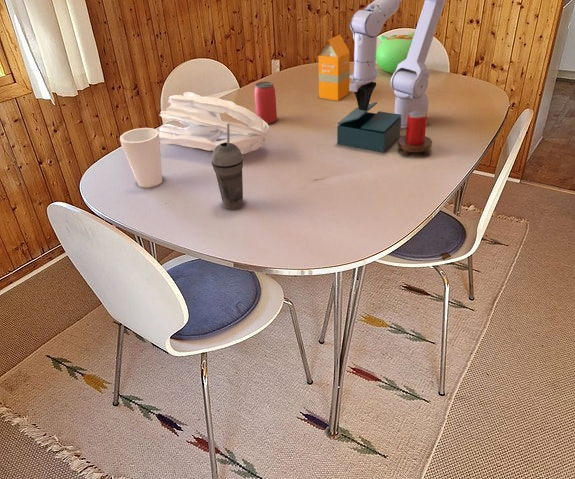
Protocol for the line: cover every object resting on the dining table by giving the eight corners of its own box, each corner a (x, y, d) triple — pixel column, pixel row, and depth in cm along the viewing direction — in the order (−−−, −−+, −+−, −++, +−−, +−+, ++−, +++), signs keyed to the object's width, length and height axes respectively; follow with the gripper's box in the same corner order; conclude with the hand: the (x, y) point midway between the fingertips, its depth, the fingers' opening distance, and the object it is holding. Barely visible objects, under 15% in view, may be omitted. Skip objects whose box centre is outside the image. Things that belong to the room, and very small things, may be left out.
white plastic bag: (284, 110, 141) (185, 94, 155) (253, 93, 124) (146, 77, 138) (271, 169, 142) (174, 148, 156) (239, 160, 126) (135, 137, 140)
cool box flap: (337, 124, 138) (337, 123, 138) (356, 109, 147) (356, 107, 147) (359, 118, 134) (358, 117, 134) (377, 103, 143) (376, 101, 143)
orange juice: (349, 93, 178) (350, 34, 167) (338, 100, 172) (338, 40, 161) (330, 90, 182) (330, 32, 171) (318, 97, 176) (317, 38, 165)
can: (419, 136, 136) (421, 109, 132) (427, 143, 132) (430, 116, 128) (402, 138, 135) (404, 112, 131) (410, 146, 131) (413, 118, 127)
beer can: (274, 125, 157) (272, 87, 150) (254, 124, 158) (251, 87, 151) (279, 117, 162) (276, 80, 155) (259, 117, 164) (256, 80, 157)
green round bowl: (374, 78, 190) (376, 38, 182) (375, 66, 204) (377, 28, 195) (422, 78, 187) (426, 37, 179) (420, 65, 201) (423, 27, 193)
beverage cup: (218, 198, 121) (206, 119, 109) (248, 195, 121) (239, 117, 109) (217, 214, 115) (204, 132, 103) (248, 211, 115) (239, 129, 103)
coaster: (413, 143, 141) (414, 131, 139) (437, 153, 134) (439, 141, 132) (390, 152, 137) (391, 140, 135) (414, 163, 130) (415, 150, 128)
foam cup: (136, 194, 125) (124, 146, 117) (128, 179, 131) (116, 133, 124) (172, 184, 128) (163, 137, 120) (163, 170, 135) (153, 125, 127)
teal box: (337, 145, 142) (337, 123, 138) (355, 129, 151) (356, 107, 147) (383, 154, 136) (384, 131, 132) (399, 136, 145) (401, 114, 141)
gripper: (362, 51, 138) (360, 99, 146) (339, 65, 128) (338, 116, 136) (386, 53, 135) (383, 102, 143) (364, 68, 125) (362, 119, 133)
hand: (363, 109), depth 139 cm, fingers closed
